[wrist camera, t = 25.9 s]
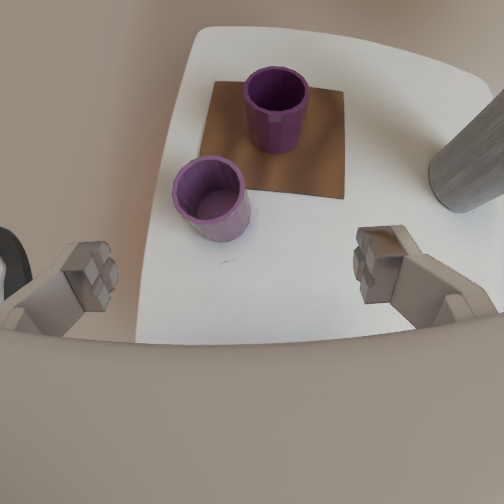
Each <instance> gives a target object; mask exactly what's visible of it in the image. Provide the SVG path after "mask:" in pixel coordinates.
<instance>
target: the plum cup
mask: <svg viewBox="0 0 504 504" xmlns="http://www.w3.org/2000/svg"><path fill="white" fill-rule="evenodd" d="M243 95H244V102H245V110H246V117H247V125H248V132H249V136H250V139H251V141H252V143H253V144H254V145H255V146H256V147H257V148H258V149H260V150H261V151H263V152H266V153H270V154H282V153H286V152H289V151H291V150H292V149H294V148H295V147H296V146H297V145H298V143H299V142H300V139H301V137H302V133H303V128H304V122H305V117H306V112H307V106H308V101H309V86H308V84H307V82H306V80H305V79H304V77H302V76H301V75H300V74H299V73H297V72H296V71H294V70H291V69H288V68H285V67H276V66H272V67H266V68H262V69H259V70H257V71H256V72H254V73H253V74H251V75H250V76H249V77H248V79H247V80H246V82H245V83H244V90H243Z"/></svg>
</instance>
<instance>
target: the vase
mask: <svg viewBox="0 0 504 504" xmlns="http://www.w3.org/2000/svg"><path fill="white" fill-rule="evenodd" d="M429 179H430V183H431V186H432V189H433V191H434V193H435V195H436V196H437V198H438V199H439V200H440V202H441V203H442V204H443V205H445V206H446V207H447V208H449V209H450V210H452V211H455V212H466V211H469V210H472V209H474V208H476V207H478V206H480V205H482V204H484V203H486V202H488V201H490V200H492V199H494V198H496V197H498V196H500V195H502V194H504V89H503V90H502V91H501V92H500V93H499V94H498V95H497V96H496V98H494V99H493V101H492V102H491V103H490V104H489V105H488V106H487V107H485V108H484V109H483V110H482V111H481V112H480V113H479V114H478V115H477V116H476V117H475V118H474V119H473V120H472V121H471V122H470V123H469V124H468V125H467V126H466V127H465V128H464V129H463V130H462V131H461V132H460V133H459V134H458V135H457V136H456V137H455V138H454V139H452V140H451V141H450V142H449V143H448V144H447V145H446V146H445V147H444V148H443V149H442V150H441V151H440V152H439V153H438V154H437V155H436V156H435V157H434V158H433V159H432V161H431V163H430V167H429Z"/></svg>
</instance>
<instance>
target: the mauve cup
mask: <svg viewBox="0 0 504 504" xmlns="http://www.w3.org/2000/svg"><path fill="white" fill-rule="evenodd" d="M172 198H173V202H174V205H175V208H176V209H177V211H178V212H179V213H180V214H181V216H182V217H183V218H184V219H185V220H186V221H187V222H188V223H189V224H191V225H192V226H193V227H194V228H195V229H196V230H197V231H198V232H199V233H200V234H201V235H202V236H204V237H206V238H207V239H209V240H211V241H215V242H228V241H231V240H234V239H235V238H237V237H239V236H240V235H241V234H242V233H243V232H244V231H245V230H246V228H247V226H248V224H249V221H250V214H251V212H250V211H251V209H250V204H249V199H248V195H247V190H246V185H245V181H244V179H243V176H242V173H241V171H240V169H239V168H238V167H237V166H236V165H235V164H234V163H233V162H232V161H230V160H228V159H226V158H223V157H221V156H202V157H199V158H197V159H194V160H191V161H190V162H189V163H188V164H186V165H185V166H184V167H183V168H182V169H181V170H180V171H179V173H178V175H177V177H176V178H175V180H174V183H173V189H172Z"/></svg>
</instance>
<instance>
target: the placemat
mask: <svg viewBox="0 0 504 504" xmlns="http://www.w3.org/2000/svg"><path fill="white" fill-rule="evenodd" d="M244 83H245V82H226V81H215V85H214V89H213V94H212V98H211V103H210V107H209V112H208V116H207V121H206V126H205V131H204V136H203V141H202V146H201V151H200V156H199V157H202V156H221V157H223V158H226V159H228V160H230V161H232V162H233V163H234V164H235V165H236V166H237V167H238V168H239V169H240V171H241V173H242V176H243V179H244V181H245V185H246V189H252V190H263V191H274V192H284V193H294V194H303V195H312V196H320V197H328V198H336V199H344V179H345V132H344V99H343V92H341V91H335V90H328V89H321V88H313V87H309V101H308V106H307V112H306V117H305V122H304V128H303V133H302V137H301V139H300V142H299V143H298V145H297V146H296V147H295V148H294V149H292V150H291V151H289V152H286V153H282V154H270V153H266V152H263V151H261V150H260V149H258V148H257V147H256V146H255V145H254V144H253V143H252V141H251V139H250V136H249V132H248V125H247V117H246V110H245V102H244V95H243V90H244Z"/></svg>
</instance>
